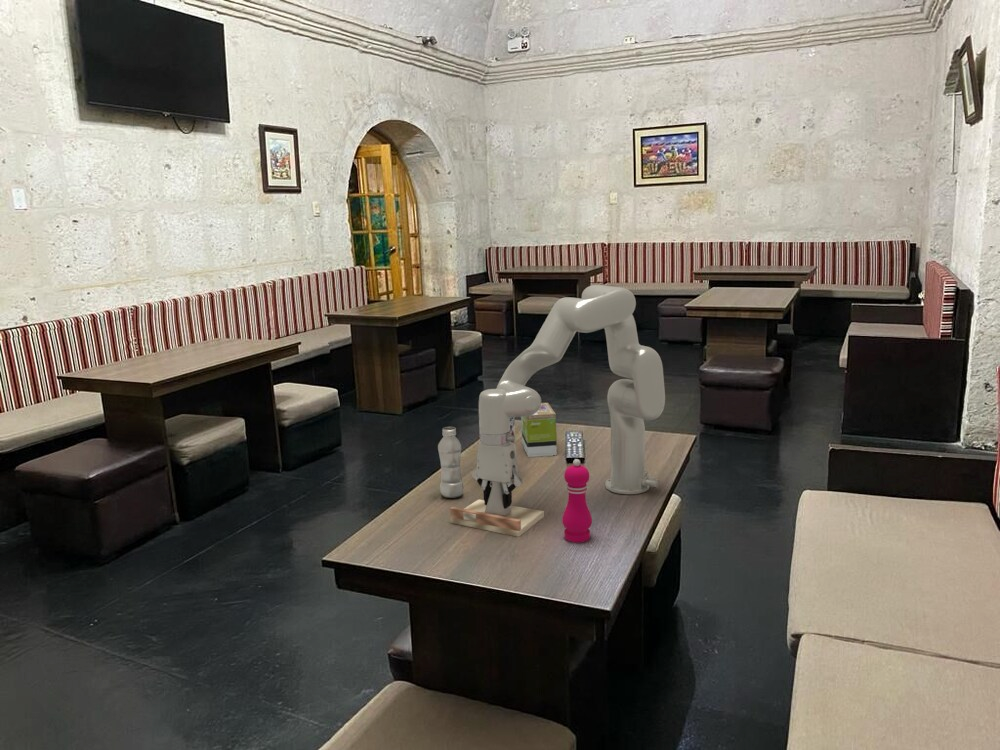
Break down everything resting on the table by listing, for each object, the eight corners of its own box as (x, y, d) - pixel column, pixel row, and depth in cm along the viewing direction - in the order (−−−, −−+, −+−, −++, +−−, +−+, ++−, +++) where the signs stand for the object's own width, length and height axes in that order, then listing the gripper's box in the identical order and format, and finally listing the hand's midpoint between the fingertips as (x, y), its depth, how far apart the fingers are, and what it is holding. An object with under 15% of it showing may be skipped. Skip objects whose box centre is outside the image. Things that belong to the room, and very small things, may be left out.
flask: (506, 518, 190) (505, 480, 188) (480, 515, 193) (478, 478, 191) (515, 507, 197) (514, 471, 195) (489, 505, 199) (488, 469, 197)
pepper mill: (572, 546, 178) (572, 466, 174) (556, 535, 185) (555, 457, 181) (597, 539, 182) (597, 460, 178) (581, 529, 188) (580, 452, 184)
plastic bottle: (460, 501, 209) (458, 432, 205) (437, 500, 210) (434, 431, 206) (466, 492, 215) (463, 425, 211) (443, 491, 216) (440, 425, 212)
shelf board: (543, 516, 196) (543, 502, 195) (518, 537, 184) (517, 522, 183) (478, 504, 206) (478, 490, 205) (450, 523, 194) (449, 508, 193)
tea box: (521, 444, 260) (520, 403, 257) (549, 443, 261) (549, 401, 258) (527, 458, 245) (526, 414, 242) (557, 456, 246) (557, 412, 243)
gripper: (531, 437, 190) (533, 505, 194) (474, 430, 198) (477, 495, 202) (517, 445, 183) (519, 515, 187) (459, 437, 192) (462, 504, 195)
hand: (497, 504), depth 194 cm, fingers closed on flask, 4 cm apart
